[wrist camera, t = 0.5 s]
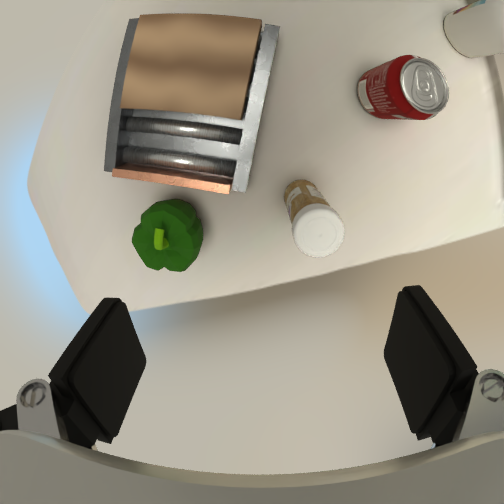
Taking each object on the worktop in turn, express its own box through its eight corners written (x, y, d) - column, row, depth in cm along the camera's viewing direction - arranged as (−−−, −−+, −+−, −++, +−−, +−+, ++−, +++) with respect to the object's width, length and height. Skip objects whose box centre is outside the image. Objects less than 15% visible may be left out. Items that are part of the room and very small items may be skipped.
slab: (147, 20, 25) (140, 15, 22) (261, 26, 25) (261, 19, 23) (128, 108, 30) (119, 108, 27) (241, 120, 30) (240, 119, 28)
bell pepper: (191, 261, 41) (171, 300, 32) (143, 229, 39) (111, 260, 30) (222, 214, 38) (209, 245, 29) (171, 180, 36) (141, 199, 27)
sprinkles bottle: (278, 186, 36) (285, 220, 24) (312, 174, 35) (337, 201, 23) (291, 218, 38) (303, 266, 25) (324, 206, 37) (351, 248, 25)
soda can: (356, 116, 32) (395, 114, 21) (354, 66, 29) (392, 44, 18) (403, 122, 31) (454, 126, 20) (402, 74, 28) (452, 61, 18)
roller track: (141, 27, 27) (126, 16, 23) (278, 36, 28) (280, 23, 23) (118, 168, 36) (100, 175, 31) (247, 187, 36) (244, 197, 32)
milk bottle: (479, 66, 25) (575, 62, 7) (442, 46, 25) (539, 22, 7) (478, 27, 22) (564, 9, 4) (440, 5, 22) (525, -31, 4)
